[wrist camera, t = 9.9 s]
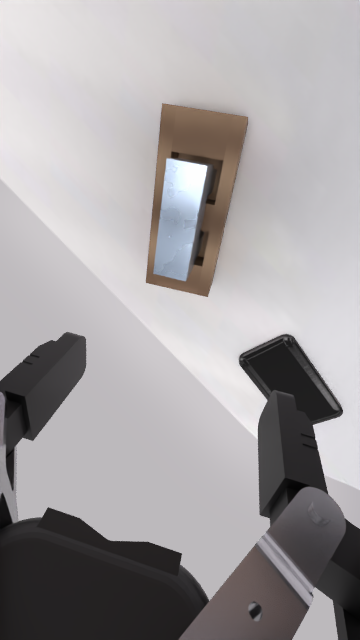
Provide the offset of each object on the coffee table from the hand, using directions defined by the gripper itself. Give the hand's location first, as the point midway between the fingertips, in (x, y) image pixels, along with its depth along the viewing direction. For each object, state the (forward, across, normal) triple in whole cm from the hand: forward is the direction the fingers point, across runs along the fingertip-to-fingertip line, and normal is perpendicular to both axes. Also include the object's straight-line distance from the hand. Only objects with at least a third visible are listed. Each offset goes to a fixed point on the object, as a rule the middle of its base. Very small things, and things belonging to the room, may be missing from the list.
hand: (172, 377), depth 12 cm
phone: (+24, -14, +17) cm, 32 cm away
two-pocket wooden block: (+23, +4, -3) cm, 23 cm away
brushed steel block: (+22, +4, -3) cm, 22 cm away
